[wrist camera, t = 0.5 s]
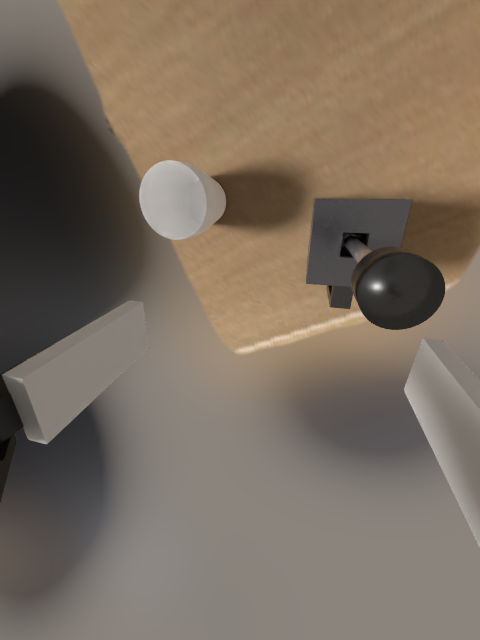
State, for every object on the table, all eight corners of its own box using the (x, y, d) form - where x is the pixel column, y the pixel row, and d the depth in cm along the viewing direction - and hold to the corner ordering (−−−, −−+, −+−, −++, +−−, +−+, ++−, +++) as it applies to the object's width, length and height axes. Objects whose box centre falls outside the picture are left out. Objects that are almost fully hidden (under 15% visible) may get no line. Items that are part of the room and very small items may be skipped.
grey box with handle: (313, 198, 39) (315, 198, 28) (380, 199, 37) (412, 199, 26) (304, 282, 44) (302, 311, 33) (363, 286, 43) (383, 318, 31)
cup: (243, 185, 41) (219, 180, 30) (220, 240, 45) (193, 253, 34) (190, 158, 41) (148, 143, 30) (173, 215, 45) (130, 221, 34)
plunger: (324, 211, 32) (345, 228, 13) (384, 212, 30) (496, 232, 12) (318, 265, 34) (327, 341, 16) (372, 268, 33) (449, 355, 15)
